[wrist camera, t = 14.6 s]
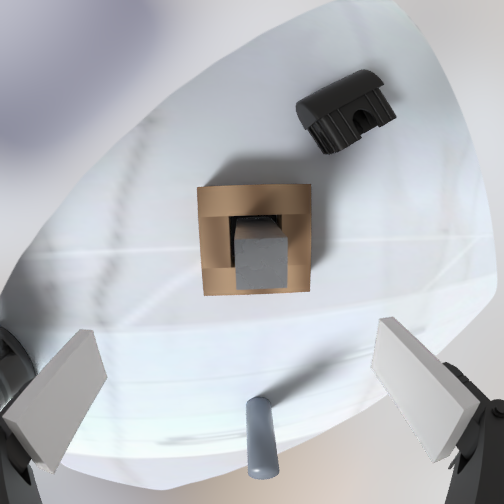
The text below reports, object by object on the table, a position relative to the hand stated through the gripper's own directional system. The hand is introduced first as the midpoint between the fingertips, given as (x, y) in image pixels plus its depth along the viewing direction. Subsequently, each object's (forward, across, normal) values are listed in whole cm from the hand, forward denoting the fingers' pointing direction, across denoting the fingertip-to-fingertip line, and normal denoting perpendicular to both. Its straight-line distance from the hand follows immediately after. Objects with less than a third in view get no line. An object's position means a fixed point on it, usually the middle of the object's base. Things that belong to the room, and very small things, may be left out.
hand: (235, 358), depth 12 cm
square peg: (+25, -2, -1) cm, 25 cm away
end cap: (+25, -13, -16) cm, 32 cm away
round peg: (+25, -2, +27) cm, 37 cm away
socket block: (+25, -2, -1) cm, 25 cm away
